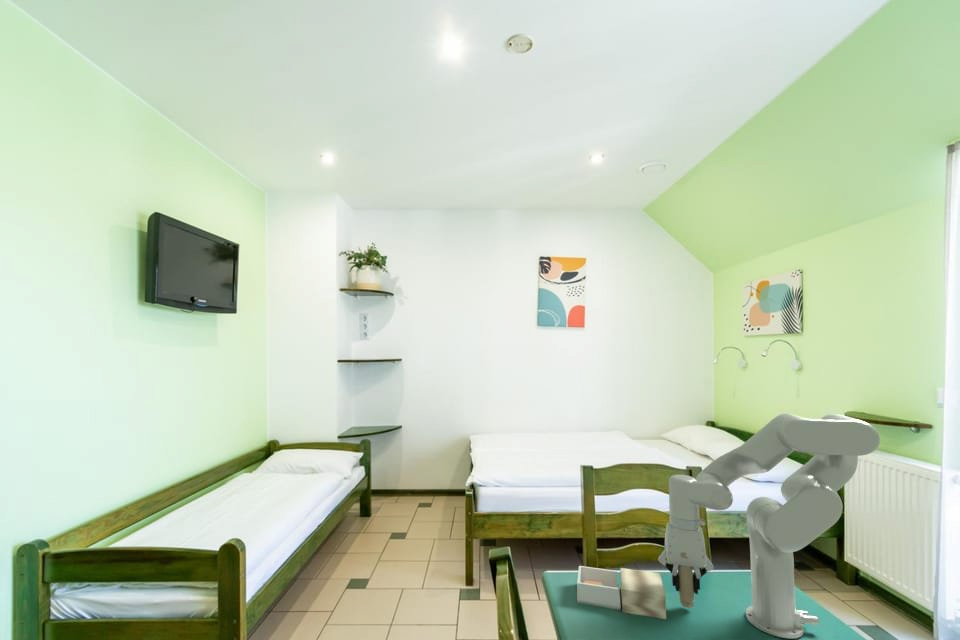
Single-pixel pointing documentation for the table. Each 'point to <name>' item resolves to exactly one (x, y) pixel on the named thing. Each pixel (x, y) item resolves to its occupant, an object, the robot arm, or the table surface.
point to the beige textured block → (642, 593)
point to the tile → (593, 582)
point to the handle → (686, 584)
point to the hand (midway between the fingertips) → (686, 589)
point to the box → (598, 587)
